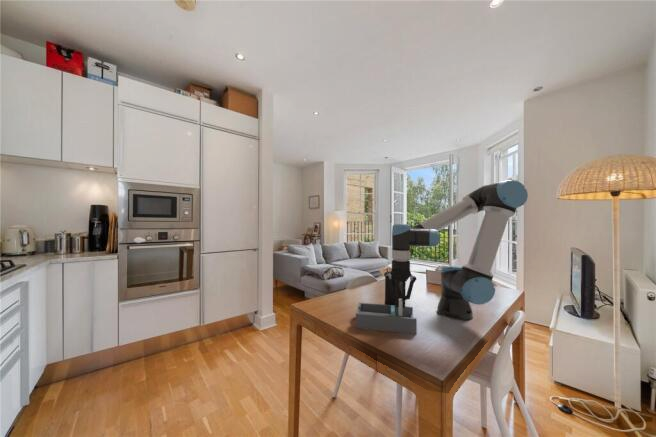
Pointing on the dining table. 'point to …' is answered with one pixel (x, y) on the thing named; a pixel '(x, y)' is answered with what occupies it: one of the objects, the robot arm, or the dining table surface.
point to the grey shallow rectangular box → (386, 319)
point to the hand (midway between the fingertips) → (400, 314)
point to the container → (388, 297)
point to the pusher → (383, 314)
